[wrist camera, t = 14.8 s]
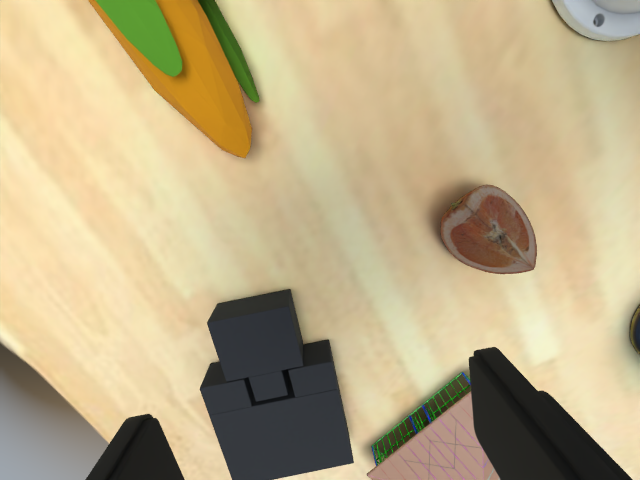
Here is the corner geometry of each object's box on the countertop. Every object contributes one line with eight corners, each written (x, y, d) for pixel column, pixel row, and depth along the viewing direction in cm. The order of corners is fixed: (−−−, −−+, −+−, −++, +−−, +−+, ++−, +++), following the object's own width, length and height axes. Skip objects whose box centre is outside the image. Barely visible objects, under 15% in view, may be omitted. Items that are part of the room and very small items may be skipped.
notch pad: (328, 339, 31) (332, 361, 28) (348, 433, 35) (353, 463, 31) (210, 363, 31) (199, 388, 28) (241, 455, 35) (234, 487, 31)
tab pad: (290, 288, 30) (288, 306, 26) (308, 366, 32) (309, 391, 29) (217, 303, 30) (206, 322, 26) (241, 380, 32) (234, 406, 29)
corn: (33, -304, 14) (290, 122, 19) (134, -149, 21) (298, 127, 26) (-80, -181, 15) (190, 188, 20) (52, -75, 22) (225, 175, 27)
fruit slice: (413, 221, 29) (436, 234, 24) (467, 163, 28) (502, 165, 23) (473, 275, 31) (505, 298, 26) (526, 223, 29) (570, 237, 25)
